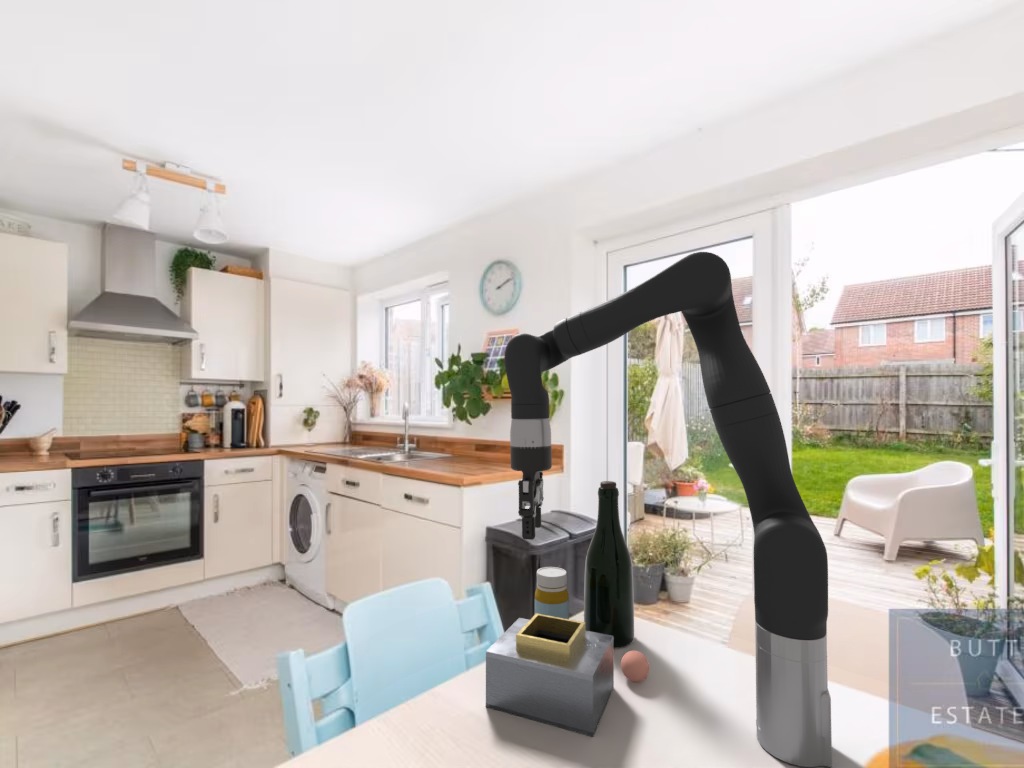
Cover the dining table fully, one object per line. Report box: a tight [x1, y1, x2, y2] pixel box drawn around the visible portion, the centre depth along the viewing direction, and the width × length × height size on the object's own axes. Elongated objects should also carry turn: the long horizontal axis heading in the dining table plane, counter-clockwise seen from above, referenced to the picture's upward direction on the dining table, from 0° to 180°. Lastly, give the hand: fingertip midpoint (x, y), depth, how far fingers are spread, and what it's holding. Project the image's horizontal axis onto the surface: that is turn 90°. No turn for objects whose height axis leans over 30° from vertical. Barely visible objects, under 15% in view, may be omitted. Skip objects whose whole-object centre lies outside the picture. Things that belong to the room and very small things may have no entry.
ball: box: [620, 650, 650, 683], centre depth 90 cm, size 5×5×5 cm
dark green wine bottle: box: [583, 480, 635, 649], centre depth 107 cm, size 10×10×33 cm
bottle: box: [534, 566, 570, 619], centre depth 103 cm, size 7×7×15 cm
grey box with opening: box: [485, 613, 615, 738], centre depth 85 cm, size 18×14×12 cm
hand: (532, 532), depth 92 cm, fingers open, 8 cm apart
